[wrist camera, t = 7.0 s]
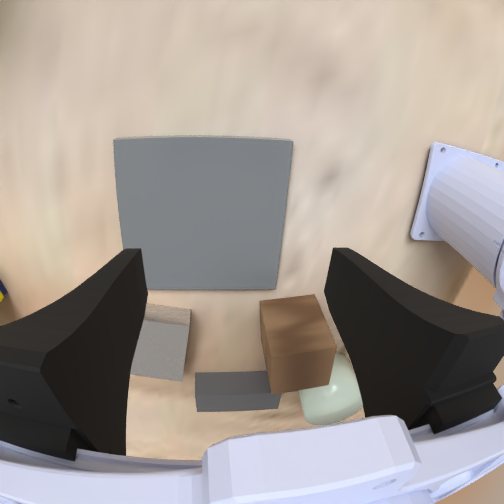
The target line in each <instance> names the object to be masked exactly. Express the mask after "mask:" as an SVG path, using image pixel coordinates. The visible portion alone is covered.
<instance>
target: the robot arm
mask: <svg viewBox="0 0 504 504" xmlns="http://www.w3.org/2000/svg"><path fill="white" fill-rule="evenodd" d="M441 148H443V150H442V152H441ZM421 232H422V234H421V235H420V233H421ZM410 236H411V237H412V238H413V239H414V240H430V241H446V242H447V243H448V244H449V245H450V246H452V247H453V248H454V249H455V250H456V251H457V252H458V253H459V254H460V255H462V256H463V257H464V258H465V259H466V260H467V261H468V262H469V263H470V264H471V265H472V266H473V267H474V268H475V269H476V270H478V271H479V272H480V273H481V274H482V275H483V276H484V277H485V278H486V279H487V280H488V281H489V282H490V283H491V284H492V285H493V286H494V287H495V288H496V292H495V295H494V298H493V300H494V301H495V302H496V303H497V304H498V305H499V306H500V308H501V309H502V311H501V313H500V316H494V315H489V314H484V313H480V312H476V311H472V310H469V309H465V308H462V307H459V306H456V305H453V304H450V303H448V302H445V301H443V300H440V299H437V298H435V297H433V296H430V295H428V294H426V293H424V292H422V291H420V290H418V289H416V288H414V287H412V286H410V285H408V284H407V283H405V282H403V281H402V280H400V279H398V278H396V277H395V276H393V275H391V274H390V273H388V272H387V271H385V270H383V269H382V268H380V267H379V266H377V265H376V264H374V263H373V262H371V261H370V260H368V259H366V258H365V257H363V256H362V255H360V254H358V253H357V252H355V251H353V250H351V249H349V248H333V251H332V256H331V261H330V266H329V270H328V275H327V280H326V284H325V289H324V293H325V296H326V300H327V304H328V307H329V310H330V313H331V316H332V318H333V320H334V323H335V325H336V327H337V329H338V332H339V334H340V336H341V338H342V341H343V343H344V345H345V347H346V350H347V352H348V354H349V357H350V359H351V362H352V365H353V368H354V372H355V375H356V379H357V382H358V386H359V390H360V395H361V399H362V403H363V408H364V413H365V418H362V419H357V420H352V421H347V422H341V423H335V424H329V425H323V426H316V427H309V428H301V429H293V430H283V431H273V432H260V433H253V434H247V435H241V436H234V437H230V438H227V439H225V440H223V441H220V442H218V443H216V444H213V445H212V446H210V447H209V448H208V449H207V450H206V452H205V454H204V456H203V458H202V460H167V459H152V458H140V457H130V456H126V414H127V399H128V388H129V379H130V372H131V366H132V362H133V358H134V354H135V350H136V346H137V342H138V339H139V335H140V331H141V328H142V324H143V320H144V316H145V310H146V303H147V296H148V291H147V285H146V279H145V272H144V265H143V258H142V250H141V248H126V249H124V250H123V251H121V252H120V253H119V254H118V255H116V256H115V257H114V258H113V259H112V260H110V261H109V262H108V263H107V264H106V265H104V266H103V267H102V268H101V269H100V270H98V271H97V272H96V273H95V274H94V275H92V276H91V277H90V278H88V279H87V280H86V281H84V282H83V283H82V284H81V285H79V286H78V287H77V288H75V289H74V290H72V291H71V292H69V293H68V294H66V295H65V296H63V297H62V298H60V299H58V300H57V301H55V302H53V303H52V304H50V305H48V306H46V307H44V308H42V309H40V310H38V311H37V312H35V313H33V314H30V315H28V316H26V317H24V318H21V319H19V320H17V321H14V322H12V323H9V324H6V325H3V326H0V504H433V503H435V502H437V501H439V500H441V499H443V498H445V497H447V496H449V495H451V494H453V493H455V492H456V491H458V490H460V489H462V488H464V487H465V486H467V485H469V484H471V483H472V482H474V481H476V480H477V479H479V478H481V477H482V476H484V475H486V474H487V473H489V472H490V471H492V470H493V469H495V468H497V467H498V466H500V465H501V464H503V463H504V384H503V385H501V386H500V387H499V388H497V389H496V387H495V386H494V384H493V383H494V382H495V381H496V376H495V374H494V373H493V370H494V369H495V368H496V366H497V365H498V363H499V362H500V360H501V358H502V357H503V356H504V162H503V161H500V160H497V159H494V158H491V157H488V156H485V155H482V154H478V153H475V152H472V151H469V150H465V149H462V148H458V147H454V146H451V145H447V144H443V143H439V142H434V143H433V144H432V145H431V149H430V154H429V159H428V164H427V169H426V173H425V178H424V182H423V186H422V191H421V195H420V199H419V203H418V207H417V211H416V214H415V218H414V222H413V225H412V229H411V232H410Z"/></svg>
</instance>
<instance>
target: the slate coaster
mask: <svg viewBox="0 0 504 504" xmlns="http://www.w3.org/2000/svg"><path fill="white" fill-rule="evenodd" d="M113 142H114V162H115V177H116V189H117V200H118V210H119V219H120V228H121V236H122V243H123V250H124V249H126V248H141V250H142V258H143V265H144V272H145V279H146V285H147V289H174V290H251V289H276V281H277V274H278V266H279V258H280V250H281V242H282V234H283V226H284V218H285V210H286V201H287V192H288V184H289V175H290V165H291V156H292V147H293V141H292V140H291V139H277V138H261V137H240V136H149V137H128V138H116V139H114V140H113Z"/></svg>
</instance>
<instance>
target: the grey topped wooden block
mask: <svg viewBox="0 0 504 504" xmlns="http://www.w3.org/2000/svg"><path fill="white" fill-rule="evenodd" d="M190 312H191V309H184V308H177V307H170V306H163V305H156V304H149V303H146V310H145V316H144V320H143V324H142V328H141V331H140V335H139V339H138V342H137V346H136V350H135V354H134V358H133V362H132V366H131V372H130V374H133V375H139V376H146V377H152V378H159V379H167V380H175V381H182V379H183V371H184V363H185V356H186V348H187V341H188V334H189V327H190Z"/></svg>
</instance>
